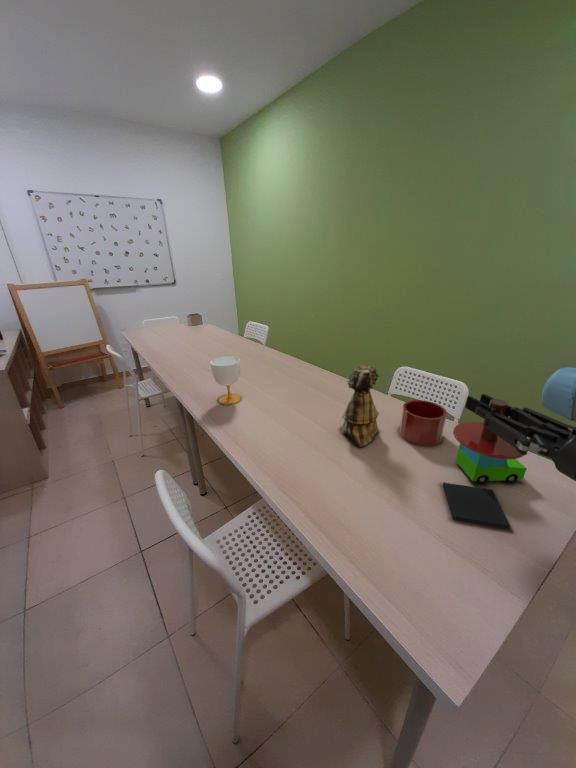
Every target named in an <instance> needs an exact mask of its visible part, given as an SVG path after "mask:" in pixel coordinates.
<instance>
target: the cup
mask: <svg viewBox="0 0 576 768" xmlns="http://www.w3.org/2000/svg"><path fill="white" fill-rule="evenodd" d="M209 363H210V368H211V373H212V376H213V379H214V381H215V382H216V384H218V385H220V386H223V387H226V390H227V394H225V395H223V396H220V397H219V398H218V402H219V403H220V404H222V405H234V404H236V403H238V402H239V401H241V396H240V395H238V394H232V393H231V386H233V385H235V384H237V382H238V381H239V379H240V377H241V359H240V358H239V357H236V356H220V357H216V358H214V359H212V360H210V362H209Z"/></svg>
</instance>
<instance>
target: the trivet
mask: <svg viewBox="0 0 576 768" xmlns="http://www.w3.org/2000/svg"><path fill="white" fill-rule="evenodd" d="M442 488H443V492H444V494H445V498H446V501H447V504H448V505H447V506H448V508H449V512H450V515H451V519H452V520H453V521H460V522H465V523H469V524H470V523H472V524H477V525H483V526H489V527H494V528H500V529H505V530H510V527H511V525H510V523H509V520H508V519H507V516H506V515H505V512H504V510H503V508H502V507H501V504H500V502H499V500H498V498H497V496H496V494H495V492H494V490H493V489H489V488H483V487H478V486H477V487H476V486H470V485H463V484H455V483H449V482H443V483H442Z"/></svg>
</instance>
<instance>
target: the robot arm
mask: <svg viewBox="0 0 576 768" xmlns="http://www.w3.org/2000/svg"><path fill="white" fill-rule="evenodd" d="M541 391H542V392H541V403H542V405H543V407H544V408H545V409H547V410H549V411H550V412H553V413H555V414H556V415H559V416H561V417H564V418H566V419H567V420H568V421H571V422H573V421H574V422H576V367H571V366H567V367H561V368H559V369H557V370H556V371H555V372H553V373H552V374H551V375H550V376H549V378H548V379H547V380H546V382H545V384H544V386H543V388H542V390H541ZM492 399H495V398H494V397H492V396H489V395H488V394H485V393H482V394H481V395H480V399H477V398H475V397H473V396H471V395H468V396H467V397H466V401H465V402H466V403H465V409H467V410H469V411H470V412H472V413H474V414H475V415H476V416H479V417H481V418H482V419H484V421H483V423H484V424H483V426H484V427H485V428H486V429H488V430H489V431H491V432H492V433H494V434H495V435H497V436H498V437H500V438H501V439H503V440H504V441H506V442H507V443H509V444H510V445H512V446H513V447H514V448H515V449H516V450H517V451H518V453H520V454H522V455H524V456H527V454H528V452H536V453H537V454H539V456H543V457H546V458H548V459H551V461H552V462H553V464H554V467H555V469H556V470H557V471H558V472H559V473H560V474H562V475H564V476H566V477H568V478H569V479H571V480H572V481H574V482H576V426H573V425H570V424H567V423H565V422H562V421H560V420H557V419H555V418H553V417H550V416H548V415H545V414H543V413H541V412H538V411H536V410H534V409H531V408H529V407H522V408H519V407H515V406H514V407H512V406H510V405H508V407H507V410H506V413H505V416H504V415H501V414H499V413H497V412H496V411H497V409H496V408H492V407H491V406H489V404H490V401H491V400H492Z"/></svg>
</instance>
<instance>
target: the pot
mask: <svg viewBox="0 0 576 768" xmlns="http://www.w3.org/2000/svg"><path fill="white" fill-rule="evenodd" d="M447 416H448V412H447V409H446V408H444V407H443V406H442V405H441V404H438V403H436V402H432V401H429V400H420V399H415V400H414V399H413V400H408V401H406V402H405V403H403V405H402V410H401V416H400V424H399V434H400V436H401V437H402V438H403V439H404V440H405V441H406V442H408V443H411V444H413V445H416V446H423V447H433V446H437V445H438V444H440V443H441V442H442V439H443V436H444V430H445V425H446V422H447V421H446V420H447Z"/></svg>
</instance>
